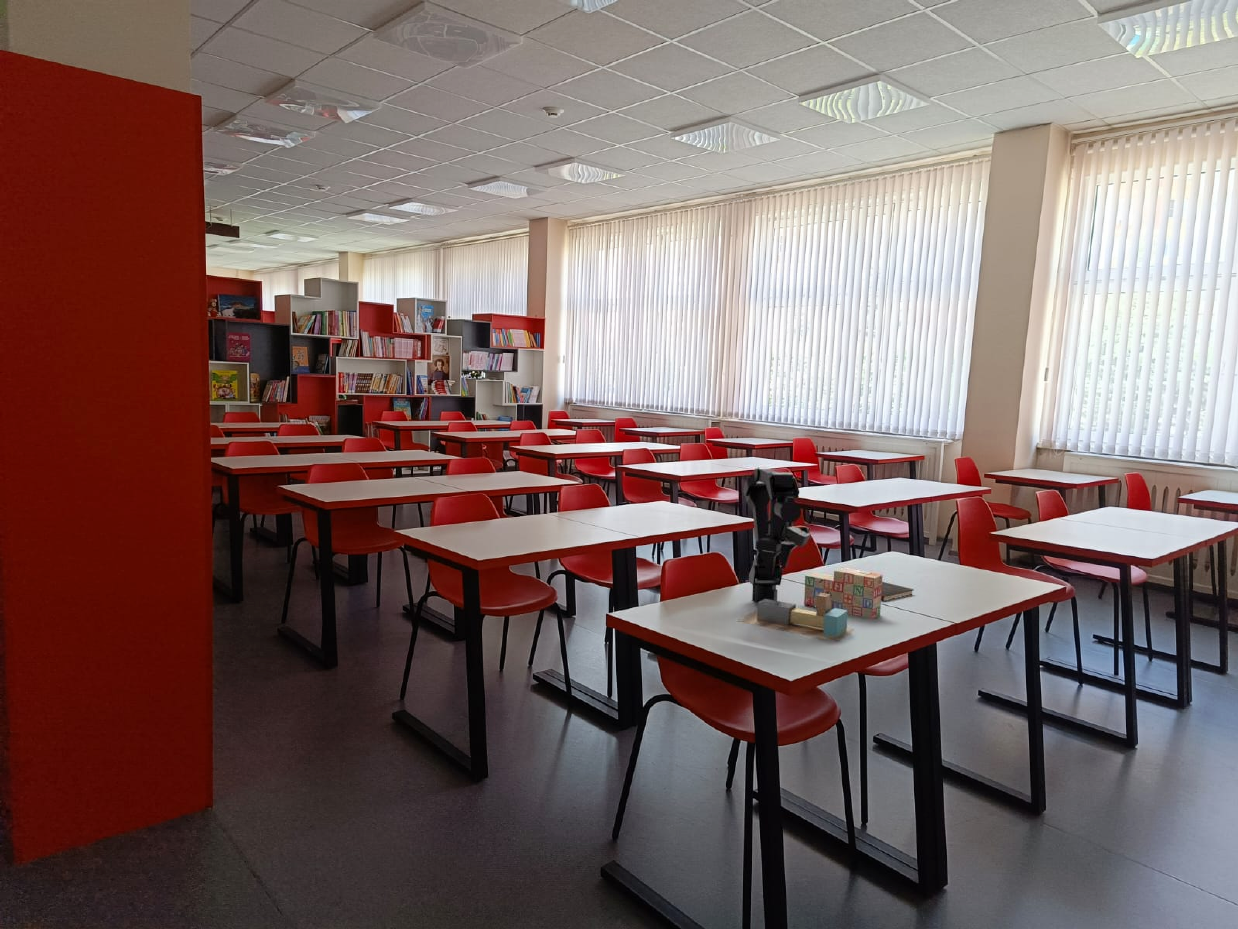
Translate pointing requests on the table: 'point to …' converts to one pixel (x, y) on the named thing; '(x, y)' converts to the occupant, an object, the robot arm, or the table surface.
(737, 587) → the table surface
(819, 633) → the base board
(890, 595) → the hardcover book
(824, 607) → the l-shaped wooden step
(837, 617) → the socket block
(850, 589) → the stack of blocks
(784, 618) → the sleeve
